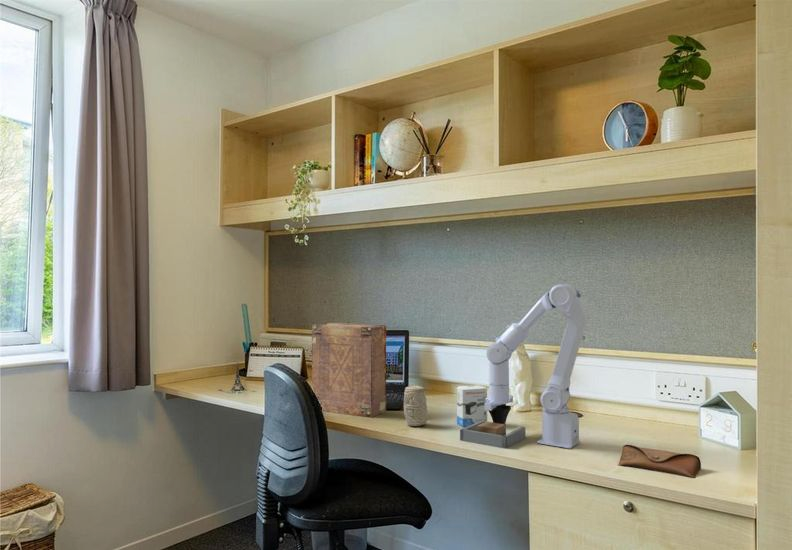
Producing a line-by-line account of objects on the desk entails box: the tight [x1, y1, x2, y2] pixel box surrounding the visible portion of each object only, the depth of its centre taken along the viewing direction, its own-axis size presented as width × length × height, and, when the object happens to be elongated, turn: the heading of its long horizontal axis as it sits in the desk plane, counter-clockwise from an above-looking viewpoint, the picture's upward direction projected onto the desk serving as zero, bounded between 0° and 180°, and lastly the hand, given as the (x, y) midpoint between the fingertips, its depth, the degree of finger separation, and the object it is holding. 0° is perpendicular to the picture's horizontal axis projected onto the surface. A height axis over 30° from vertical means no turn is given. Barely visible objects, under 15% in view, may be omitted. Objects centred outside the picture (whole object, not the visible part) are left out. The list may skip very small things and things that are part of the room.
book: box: [311, 322, 387, 418], centre depth 205 cm, size 25×9×30 cm, turn 59°
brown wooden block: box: [477, 421, 507, 436], centre depth 168 cm, size 6×6×4 cm
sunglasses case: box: [617, 444, 702, 479], centre depth 142 cm, size 18×7×7 cm
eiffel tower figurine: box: [218, 359, 254, 394], centre depth 244 cm, size 15×10×13 cm
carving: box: [403, 385, 428, 427], centre depth 184 cm, size 6×8×12 cm
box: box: [459, 421, 526, 449], centre depth 168 cm, size 14×13×3 cm
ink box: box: [456, 385, 488, 428], centre depth 185 cm, size 8×5×12 cm, turn 105°
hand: (499, 431), depth 171 cm, fingers closed
